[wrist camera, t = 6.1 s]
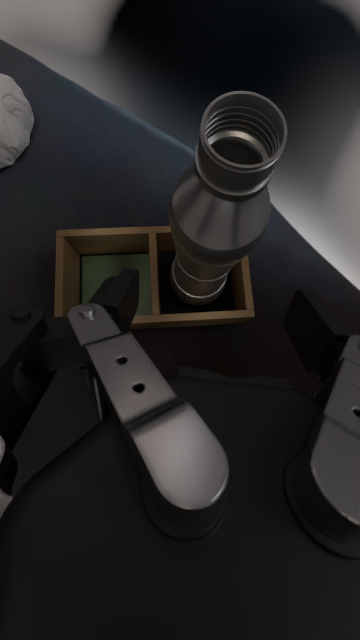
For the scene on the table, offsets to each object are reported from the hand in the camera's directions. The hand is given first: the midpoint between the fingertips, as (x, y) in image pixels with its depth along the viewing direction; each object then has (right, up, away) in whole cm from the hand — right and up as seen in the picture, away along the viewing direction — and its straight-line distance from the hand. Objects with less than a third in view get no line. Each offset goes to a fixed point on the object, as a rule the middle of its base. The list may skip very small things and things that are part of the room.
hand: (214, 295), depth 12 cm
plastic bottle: (0, +3, +17) cm, 18 cm away
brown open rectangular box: (-5, +3, +17) cm, 18 cm away
